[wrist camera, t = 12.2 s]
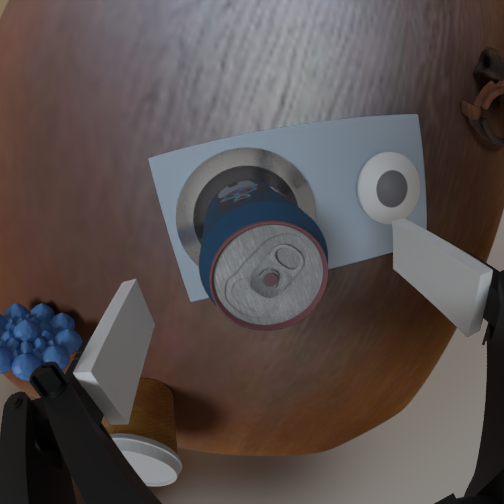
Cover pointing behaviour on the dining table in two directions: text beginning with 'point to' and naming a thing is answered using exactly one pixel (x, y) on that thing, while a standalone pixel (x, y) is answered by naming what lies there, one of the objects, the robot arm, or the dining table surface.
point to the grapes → (35, 339)
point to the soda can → (261, 257)
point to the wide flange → (226, 172)
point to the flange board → (323, 182)
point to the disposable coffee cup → (150, 435)
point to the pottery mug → (487, 94)
